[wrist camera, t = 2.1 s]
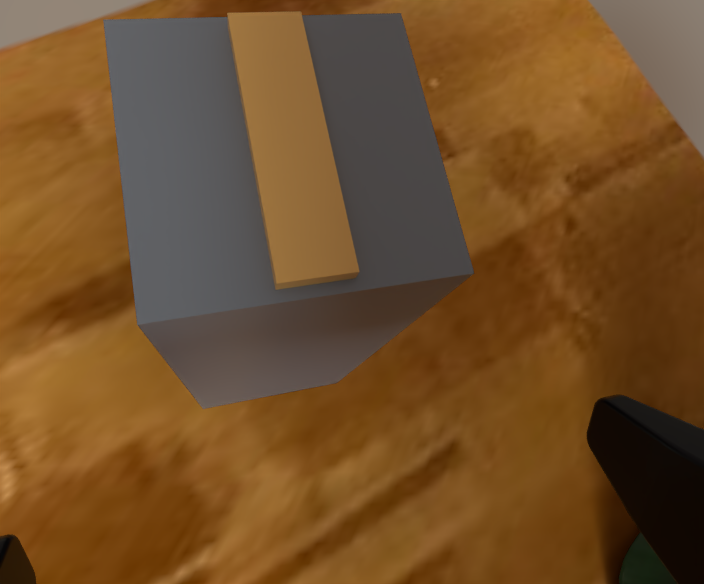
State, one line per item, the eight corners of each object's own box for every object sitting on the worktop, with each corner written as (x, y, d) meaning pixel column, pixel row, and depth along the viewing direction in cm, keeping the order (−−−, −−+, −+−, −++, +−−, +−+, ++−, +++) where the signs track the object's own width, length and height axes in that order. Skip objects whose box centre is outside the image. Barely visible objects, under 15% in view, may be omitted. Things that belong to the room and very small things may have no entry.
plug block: (336, 382, 21) (482, 266, 8) (203, 408, 19) (132, 319, 7) (312, 261, 22) (405, -1, 9) (185, 278, 21) (98, 4, 8)
